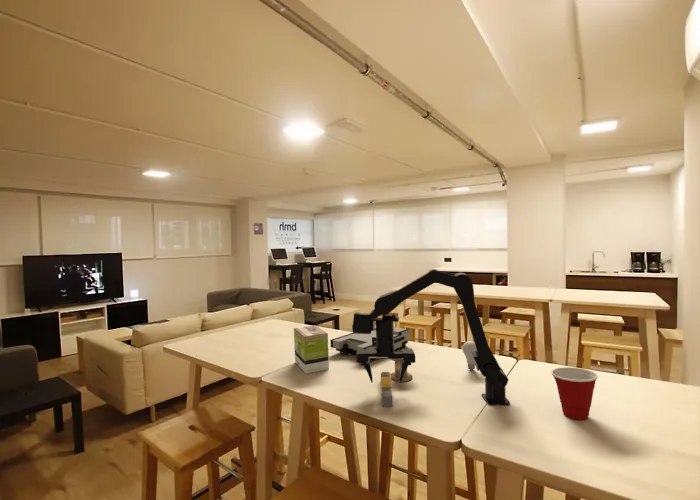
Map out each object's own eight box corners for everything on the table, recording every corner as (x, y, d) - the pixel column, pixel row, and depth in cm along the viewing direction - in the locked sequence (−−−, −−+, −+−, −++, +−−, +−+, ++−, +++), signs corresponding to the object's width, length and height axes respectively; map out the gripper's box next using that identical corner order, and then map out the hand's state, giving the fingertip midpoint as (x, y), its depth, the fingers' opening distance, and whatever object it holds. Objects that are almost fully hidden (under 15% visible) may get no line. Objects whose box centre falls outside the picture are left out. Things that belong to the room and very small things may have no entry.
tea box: (294, 362, 143) (293, 327, 143) (316, 358, 147) (316, 324, 147) (305, 374, 129) (303, 335, 129) (329, 369, 133) (328, 332, 133)
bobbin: (413, 381, 120) (413, 360, 120) (390, 381, 120) (390, 360, 120) (411, 373, 128) (410, 352, 128) (389, 373, 128) (389, 353, 128)
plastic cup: (554, 402, 102) (554, 362, 102) (599, 413, 95) (599, 370, 95) (548, 417, 93) (547, 373, 93) (596, 430, 87) (596, 383, 86)
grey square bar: (392, 406, 102) (392, 396, 102) (382, 406, 102) (382, 396, 102) (389, 381, 121) (389, 372, 121) (380, 381, 121) (380, 372, 121)
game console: (330, 355, 152) (330, 337, 152) (375, 339, 175) (375, 323, 175) (367, 365, 138) (366, 345, 138) (410, 346, 161) (409, 329, 161)
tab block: (391, 395, 109) (391, 375, 109) (381, 395, 109) (381, 375, 109) (390, 390, 113) (390, 371, 113) (381, 390, 113) (380, 371, 113)
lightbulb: (477, 367, 132) (476, 338, 132) (482, 373, 126) (481, 343, 126) (461, 367, 133) (460, 338, 132) (465, 373, 127) (464, 343, 126)
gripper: (410, 328, 119) (411, 372, 119) (357, 328, 120) (358, 373, 120) (415, 336, 107) (416, 386, 108) (355, 337, 109) (357, 386, 109)
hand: (386, 382), depth 111 cm, fingers open, 9 cm apart
